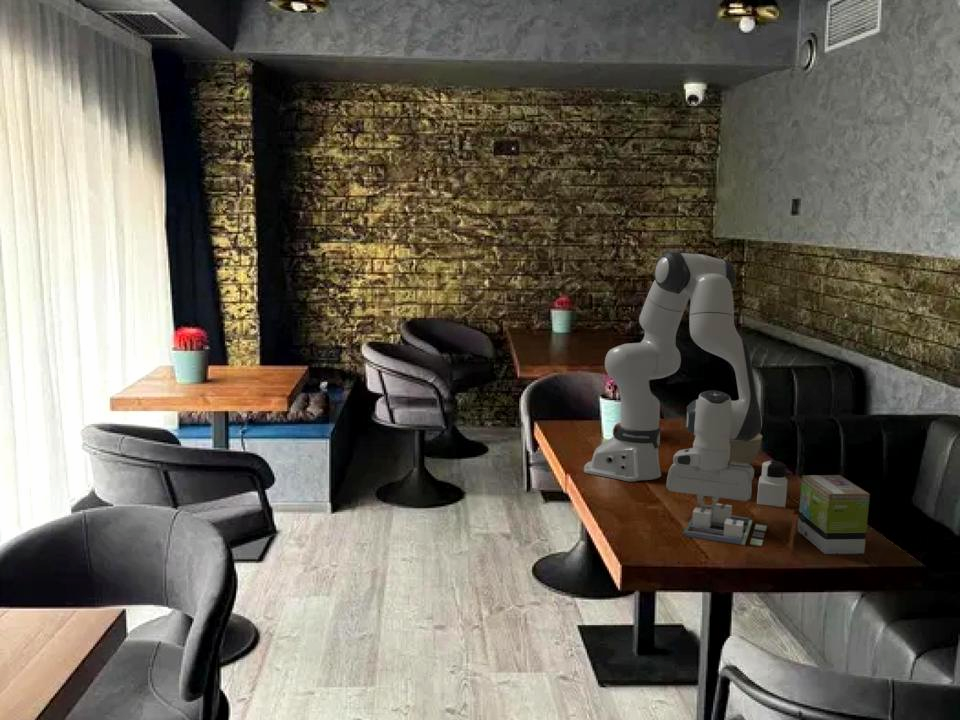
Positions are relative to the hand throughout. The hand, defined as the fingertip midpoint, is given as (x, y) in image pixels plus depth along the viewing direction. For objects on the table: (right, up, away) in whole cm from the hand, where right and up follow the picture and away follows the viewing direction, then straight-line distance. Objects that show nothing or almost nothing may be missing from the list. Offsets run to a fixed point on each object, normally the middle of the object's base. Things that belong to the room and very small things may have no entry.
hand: (706, 512), depth 226 cm
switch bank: (+1, -4, -6) cm, 7 cm away
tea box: (+27, -6, -9) cm, 29 cm away
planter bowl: (+21, +4, +54) cm, 58 cm away
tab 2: (+3, -4, -12) cm, 13 cm away
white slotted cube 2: (-2, -3, -4) cm, 6 cm away
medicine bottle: (+21, -1, +17) cm, 28 cm away
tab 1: (+3, -2, -1) cm, 4 cm away
